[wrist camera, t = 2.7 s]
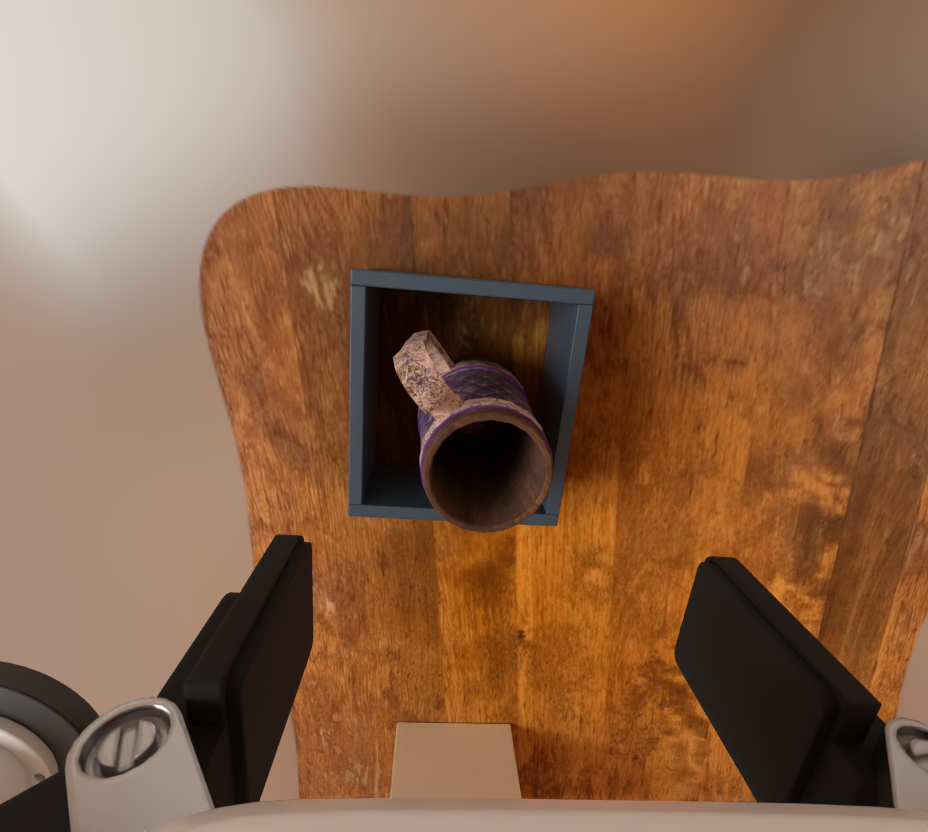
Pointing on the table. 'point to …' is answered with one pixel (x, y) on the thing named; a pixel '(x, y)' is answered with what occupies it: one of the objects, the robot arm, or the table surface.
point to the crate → (372, 484)
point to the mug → (474, 437)
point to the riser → (454, 761)
